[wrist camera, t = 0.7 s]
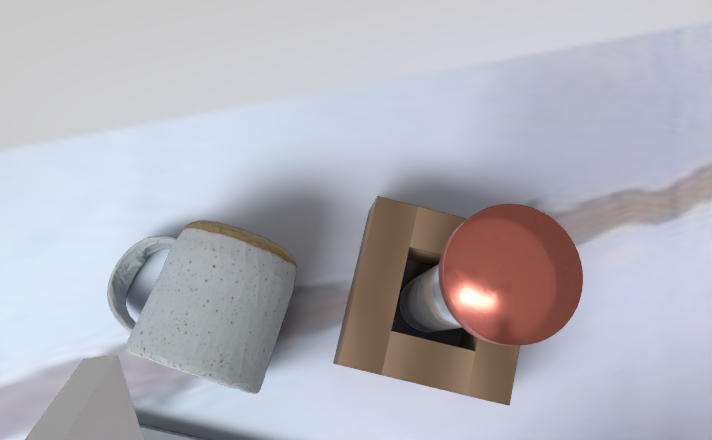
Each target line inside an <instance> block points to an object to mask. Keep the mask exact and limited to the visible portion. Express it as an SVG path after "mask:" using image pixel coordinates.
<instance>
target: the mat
mask: <svg viewBox="0 0 712 440" xmlns="http://www.w3.org/2000/svg"><path fill="white" fill-rule="evenodd" d="M139 426H140V429H141V432H142V435H143V439H144V440H206V439H202V438H198V437H193V436H189V435H185V434H180V433H176V432H172V431H167V430H163V429H159V428H154V427H150V426H146V425H141V424H139Z"/></svg>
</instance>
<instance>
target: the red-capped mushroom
mask: <svg viewBox="0 0 712 440" xmlns="http://www.w3.org/2000/svg"><path fill="white" fill-rule="evenodd" d="M582 285H583V272H582V266H581V261H580V258H579V254H578V252H577V249H576V247H575V245H574V243H573V241H572V240H571V238H570V237H569V235H568V234H567V233H566V231H565V230H564V229H563V228H562V227H561V226H560V225H559V224H558V223H557V222H556V221H555V220H553V219H552V218H551V217H549V216H548V215H546V214H545V213H543V212H541V211H539V210H537V209H534V208H531V207H528V206H523V205H518V204H502V205H496V206H492V207H489V208H486V209H483V210H482V211H480V212H478V213H476V214H474V215H473V216H472V217H470V218H469V219H468V220H466V221H465V222H463V223H462V224H461V225H460V226H459V227H458V228H457V229H456V230H455V231H454V232H453V233H452V234H451V236H450V237H449V239H448V240H447V242H446V244H445V246H444V248H443V251H442V254H441V257H440V262H439V264H438V265H437V266H435V267H433V268H431V269H430V270H428V271H426V272H425V273H423V274H421V275H419V276H418V277H416V278H414V279H413V280H411V281H410V282H409V283H408V284H407V285H406V286H405V287H404V289H403V291H402V293H401V296H400V310H401V313H402V316H403V318H404V319H405V321H406V322H407V323H408V324H409V325H410V326H411V327H413V328H414V329H416V330H419V331H422V332H435V331H442V330H448V329H455V328H462V327H463V328H464V329H465V330H466V331H467V332H469V333H470V334H472V335H473V336H475V337H477V338H479V339H481V340H483V341H486V342H489V343H492V344H498V345H527V344H532V343H537V342H540V341H542V340H545V339H547V338H549V337H551V336H552V335H554V334H555V333H557V332H558V331H559V330H560V329H562V328H563V327H564V326H565V325H566V323H567V322H568V321H569V320H570V318H571V317H572V316H573V314H574V312H575V310H576V308H577V306H578V303H579V300H580V297H581V292H582Z"/></svg>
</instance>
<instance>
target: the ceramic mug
mask: <svg viewBox="0 0 712 440" xmlns="http://www.w3.org/2000/svg"><path fill="white" fill-rule="evenodd" d="M162 249H171V250H170V252H169V254H168V256H167V258H166V261H165V263H164V266H163V268H162V271H161V273H160V276H159V278H158V280H157V282H156V284H155V286H154V288H153V290H152V292H151V294H150V296H149V298H148V300H147V302H146V304H145V306H144V308H143V310H142V312H141V314H140V316H139V318H138V320H137V322H136V323H135V321H134V320H133V319H132V318H131V317H130V315H129V313H128V310H127V307H126V297H127V291H128V289H129V287H130V285H131V283H132V281H133V279H134V277H135V275H136V274H137V272H138V270H139V268H140V267H141V266H142V265H143V264H144V262H145V259H146V257H148V256H149V255H151V254H152V253H154V252H156V251H159V250H162ZM296 271H297V266H296V263H295V260H294V258H293V257H292V256H291V254H290V253H289V252H288V251H286V250H285V249H284V248H282V247H280V246H279V245H277V244H275V243H273V242H271V241H269V240H267V239H265V238H263V237H260V236H258V235H255V234H253V233H250V232H248V231H245V230H243V229H239V228H236V227H233V226H229V225H225V224H222V223H218V222H211V221H204V220H201V221H196V222H192V223H191V224H189V225H187V226H186V227H185V228H184V230H183V231H182V232H181V234H180V235H179V237H178V238H173V237H170V236H155V237H149V238H145V239H144V240H142V241H140V242H138V243H136V244H135V245H134V246H132V247H131V248H129V249H128V251H127V252H126V253H125V254H124V255H123V256H122V258H121V259H120V260H119V262H118V263H117V265H116V267H115V269H114V271H113V272H112V275H111V277H110V280H109V284H108V290H107V297H108V302H109V306H110V309H111V311H112V313H113V315H114V317H115V318H116V319H117V320H118V321H119V322H120V324H121V325H122V326H123V327H124V328H126V329H127V330H128V331H130V332H131V335H130V337H129V339H128V342H127V345H126V350H127V351H128V352H130V353H132V354H135V355H137V356H140V357H143V358H146V359H148V360H151V361H154V362H157V363H160V364H162V365H164V366H168V367H171V368H174V369H177V370H180V371H182V372H187V373H189V374H191V375H195V376H198V377H201V378H204V379H207V380H210V381H212V382H215V383H218V384H221V385H224V386H227V387H230V388H235V389H239V390H241V391H244V392H248V393H253V394H257V393H258V392H259V391H260V389H261V386H262V383H263V380H264V377H265V373H266V370H267V367H268V364H269V361H270V359H271V356H272V353H273V350H274V347H275V344H276V341H277V338H278V334H279V331H280V328H281V325H282V322H283V319H284V316H285V313H286V310H287V307H288V304H289V301H290V298H291V295H292V292H293V290H294V284H295V277H296Z"/></svg>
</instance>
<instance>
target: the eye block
mask: <svg viewBox="0 0 712 440" xmlns="http://www.w3.org/2000/svg"><path fill="white" fill-rule="evenodd" d="M466 220H468V219H466V218H462V217H458V216H454V215H450V214H446V213H442V212H438V211H435V210H431V209H427V208H423V207H419V206H415V205H411V204H407V203H403V202H399V201H395V200H392V199H388V198H384V197H380V196H378V197H377V198H376V200H375V202H374V203H373V205H372V207H371V209H370V210H369V214H368V218H367V223H366V227H365V231H364V235H363V239H362V244H361V248H360V252H359V256H358V261H357V265H356V269H355V273H354V278H353V282H352V286H351V290H350V294H349V299H348V303H347V307H346V311H345V316H344V320H343V324H342V328H341V332H340V337H339V341H338V345H337V349H336V354H335V358H334V362H333V363H334V364H338V365H342V366H346V367H350V368H355V369H359V370H363V371H367V372H371V373H375V374H380V375H384V376H388V377H392V378H396V379H400V380H404V381H409V382H413V383H417V384H421V385H425V386H429V387H434V388H438V389H442V390H446V391H450V392H454V393H459V394H463V395H467V396H471V397H475V398H479V399H483V400H488V401H492V402H496V403H500V404H505V405H510V399H511V394H512V388H513V382H514V376H515V371H516V365H517V359H518V353H519V348H520V345H498V344H492V343H489V342H486V341H483V340H481V339H479V338H477V337H475V336H473V335H472V334H470V333H469V332H467V331H466V330H465V329H464V328H463V327H462V330H461V336H460V341H459V346H458V347H455V346H451V345H447V344H443V343H439V342H435V341H431V340H427V339H423V338H418V337H414V336H410V335H406V334H402V333H398V332H394V331H391V329H392V325H393V320H394V316H395V311H396V307H397V302H398V297H399V293H400V288H401V284H402V279H403V275H404V270H405V265H406V261H407V259H410V260H414V261H418V262H421V263H425V264H429V265H433V266H437V265H438V264H439V262H440V257H441V254H442V251H443V248H444V246H445V244H446V242H447V240H448V239H449V237H450V236H451V234H452V233H453V232H454V231H455V230H456V229H457V228H458V227H459V226H460V225H461V224H462V223H463V222H465V221H466Z"/></svg>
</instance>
